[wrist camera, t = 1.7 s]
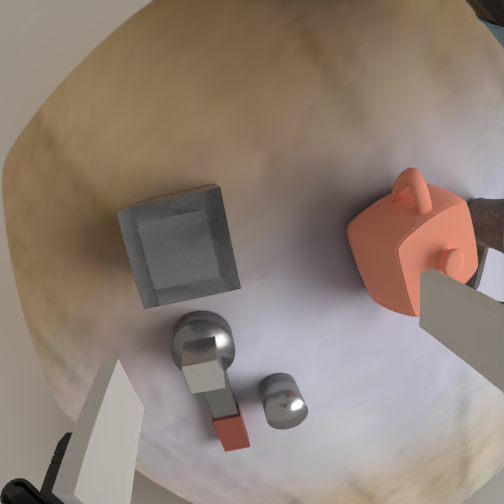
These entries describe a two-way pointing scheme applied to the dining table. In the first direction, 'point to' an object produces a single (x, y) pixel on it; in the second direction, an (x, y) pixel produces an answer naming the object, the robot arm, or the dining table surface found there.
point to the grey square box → (179, 246)
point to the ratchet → (210, 371)
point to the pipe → (486, 231)
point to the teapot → (412, 241)
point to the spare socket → (282, 401)
